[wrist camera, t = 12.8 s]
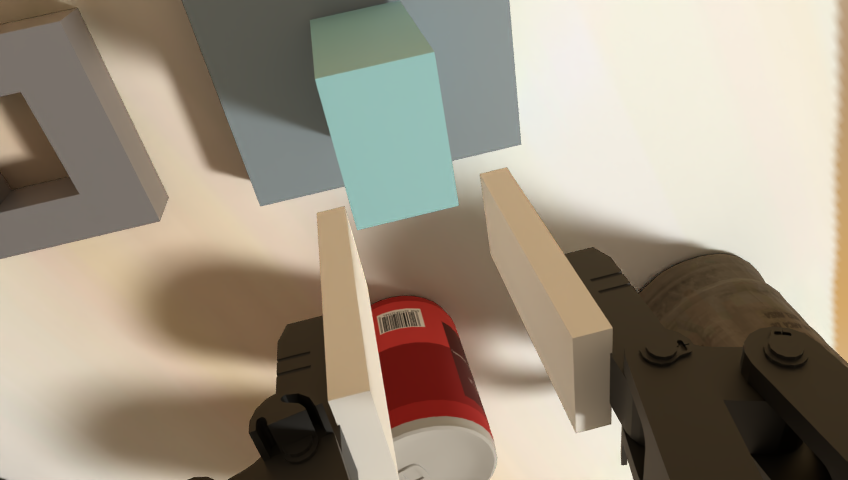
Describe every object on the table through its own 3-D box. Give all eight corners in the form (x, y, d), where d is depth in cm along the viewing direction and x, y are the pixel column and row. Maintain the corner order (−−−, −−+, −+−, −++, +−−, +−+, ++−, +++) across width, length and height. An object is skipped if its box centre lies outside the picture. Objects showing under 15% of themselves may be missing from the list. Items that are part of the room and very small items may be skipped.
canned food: (315, 347, 40) (321, 493, 31) (398, 271, 38) (431, 404, 29) (396, 393, 44) (423, 535, 35) (476, 326, 42) (526, 459, 33)
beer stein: (643, 247, 40) (865, 541, 25) (784, 237, 42) (1073, 505, 27) (593, 394, 50) (732, 677, 34) (710, 381, 51) (893, 644, 36)
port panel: (262, 183, 33) (260, 206, 31) (183, -29, 27) (174, -18, 25) (507, 126, 34) (521, 144, 32) (486, -93, 28) (501, -88, 26)
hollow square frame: (-18, 241, 32) (-40, 268, 30) (-151, 56, 26) (-189, 74, 24) (168, 197, 32) (160, 221, 30) (77, 7, 27) (59, 21, 25)
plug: (339, 121, 32) (357, 230, 23) (308, 5, 29) (315, 78, 19) (412, 104, 32) (458, 205, 23) (390, -14, 29) (434, 51, 20)
